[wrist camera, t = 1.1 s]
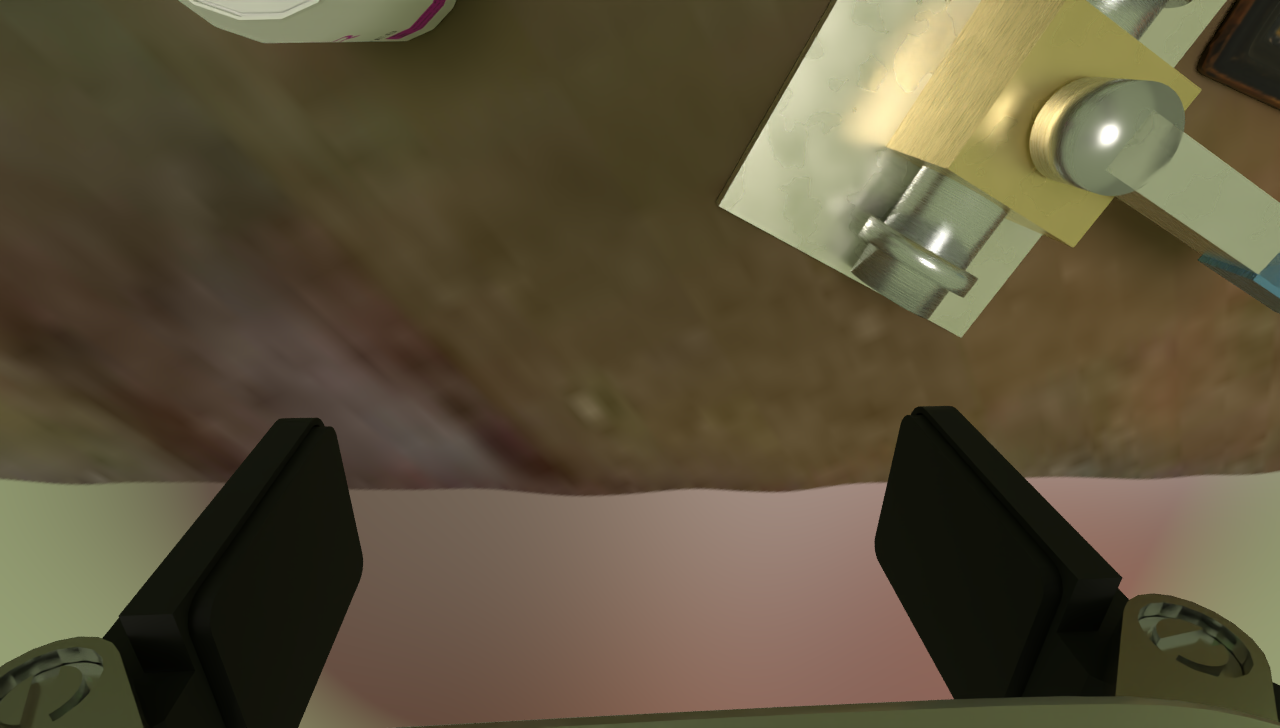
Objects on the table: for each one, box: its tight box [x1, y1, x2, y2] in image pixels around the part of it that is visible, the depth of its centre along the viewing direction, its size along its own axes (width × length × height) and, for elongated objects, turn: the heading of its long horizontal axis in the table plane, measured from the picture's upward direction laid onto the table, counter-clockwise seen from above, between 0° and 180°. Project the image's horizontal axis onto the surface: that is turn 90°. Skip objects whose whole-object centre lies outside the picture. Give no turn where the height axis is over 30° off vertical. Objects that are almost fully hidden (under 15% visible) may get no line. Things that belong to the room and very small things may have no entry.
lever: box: [1030, 77, 1280, 313], centre depth 30 cm, size 18×4×3 cm, turn 62°
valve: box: [716, 0, 1227, 337], centre depth 33 cm, size 22×18×8 cm
